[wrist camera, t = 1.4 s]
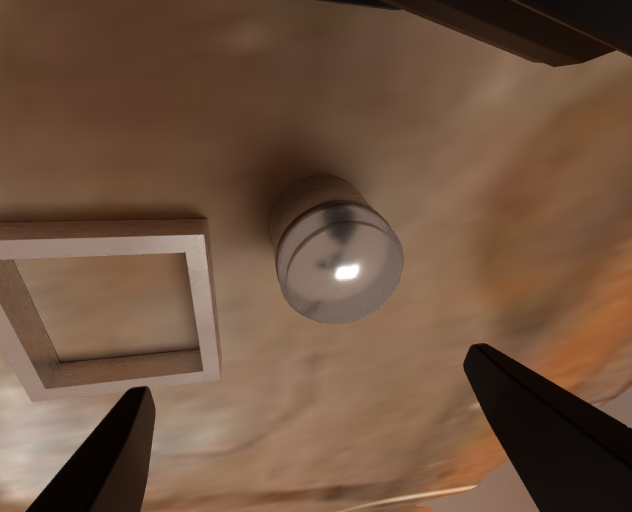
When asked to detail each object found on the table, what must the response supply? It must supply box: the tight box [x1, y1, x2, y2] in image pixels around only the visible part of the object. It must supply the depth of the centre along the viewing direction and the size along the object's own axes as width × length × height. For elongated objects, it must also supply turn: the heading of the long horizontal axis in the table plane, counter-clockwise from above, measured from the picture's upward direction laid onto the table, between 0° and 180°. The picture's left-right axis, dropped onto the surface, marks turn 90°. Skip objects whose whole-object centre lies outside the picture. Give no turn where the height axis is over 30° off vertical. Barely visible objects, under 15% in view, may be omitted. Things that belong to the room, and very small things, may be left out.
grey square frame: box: [0, 219, 222, 402], centre depth 19 cm, size 12×11×2 cm
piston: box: [270, 175, 404, 324], centre depth 17 cm, size 6×6×6 cm
